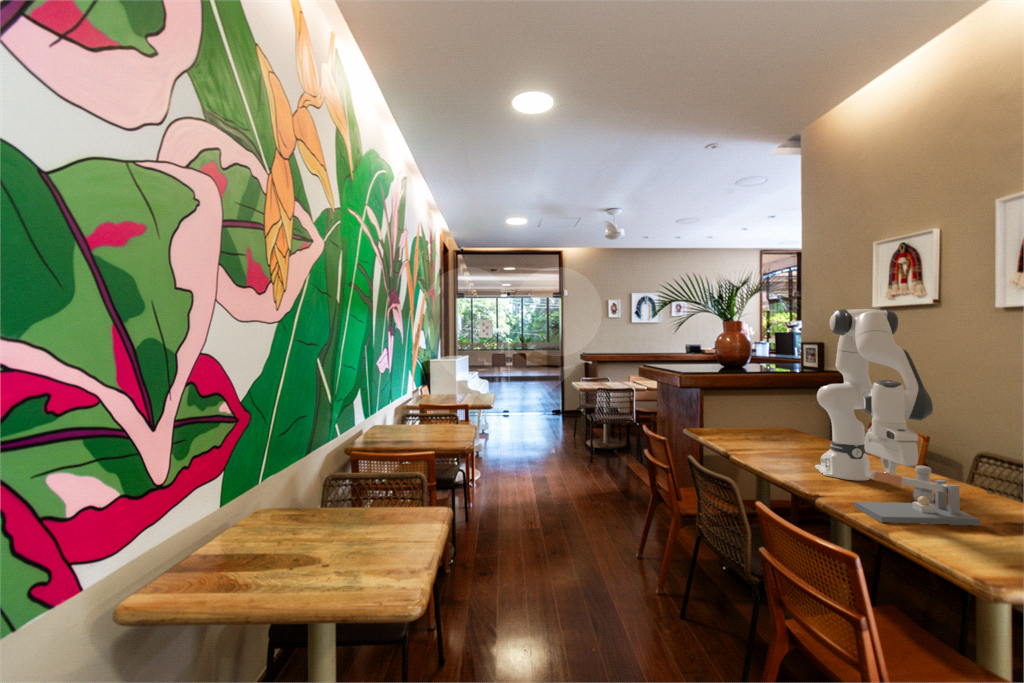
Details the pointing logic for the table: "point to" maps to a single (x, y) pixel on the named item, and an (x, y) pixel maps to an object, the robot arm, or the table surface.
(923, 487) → the lever
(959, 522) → the base
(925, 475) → the salt shaker
